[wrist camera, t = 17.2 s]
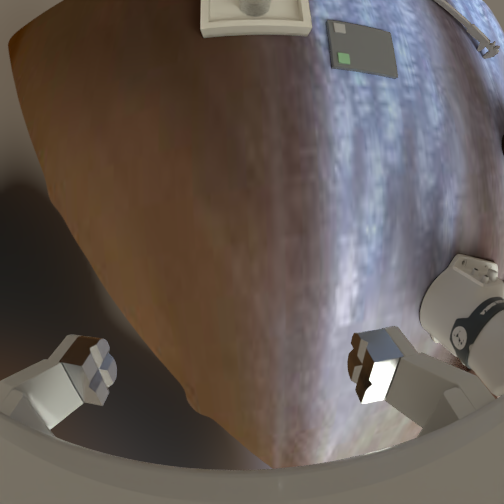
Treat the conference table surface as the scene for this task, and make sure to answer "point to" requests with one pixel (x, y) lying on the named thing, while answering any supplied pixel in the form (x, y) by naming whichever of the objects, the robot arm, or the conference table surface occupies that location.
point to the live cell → (254, 7)
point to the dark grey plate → (361, 49)
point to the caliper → (472, 31)
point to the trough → (255, 19)
